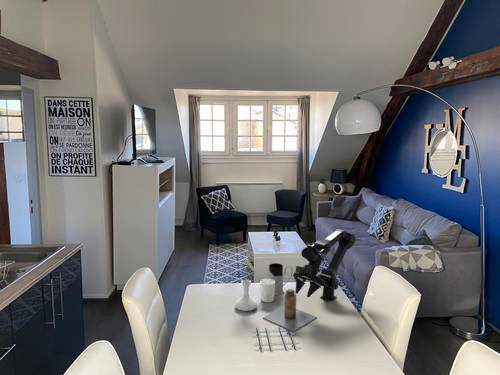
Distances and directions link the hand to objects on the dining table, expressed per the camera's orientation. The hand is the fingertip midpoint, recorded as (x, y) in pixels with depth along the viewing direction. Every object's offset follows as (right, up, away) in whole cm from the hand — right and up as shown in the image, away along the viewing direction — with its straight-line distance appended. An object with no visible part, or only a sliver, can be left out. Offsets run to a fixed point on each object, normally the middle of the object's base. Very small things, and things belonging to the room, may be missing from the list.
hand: (301, 295), depth 185 cm
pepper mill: (-6, -9, -5) cm, 12 cm away
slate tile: (-6, -10, -5) cm, 12 cm away
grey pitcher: (-8, -5, +26) cm, 28 cm away
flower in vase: (-27, -8, +7) cm, 29 cm away
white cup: (-16, -7, +15) cm, 23 cm away
